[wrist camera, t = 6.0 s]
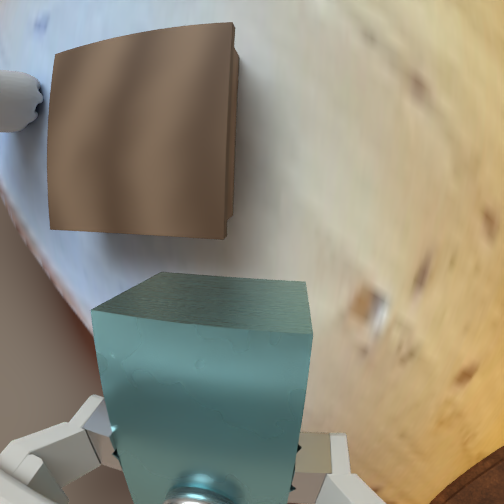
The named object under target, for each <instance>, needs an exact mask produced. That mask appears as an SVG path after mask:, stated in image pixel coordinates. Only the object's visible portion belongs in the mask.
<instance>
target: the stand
mask: <svg viewBox="0 0 504 504" xmlns="http://www.w3.org/2000/svg"><path fill="white" fill-rule="evenodd" d="M234 38H235V27H234V24H233V22H227V23H211V24H199V25H189V26H180V27H172V28H165V29H158V30H152V31H146V32H141V33H135V34H130V35H125V36H120V37H116V38H111V39H107V40H103V41H99V42H95V43H91V44H88V45H84V46H80V47H77V48H74V49H70V50H67V51H64V52H61V53H58V54H55V59H54V66H53V74H52V82H51V92H50V103H49V117H48V139H47V182H48V205H49V219H50V230H69V231H87V232H105V233H123V234H140V235H156V236H173V237H189V238H205V239H220V240H224V239H225V237H226V236H227V220H228V219H229V218H230V217H232V216H233V192H234V162H235V136H236V111H237V89H238V69H239V55H238V54H237V52H236V50H235V48H234Z"/></svg>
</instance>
